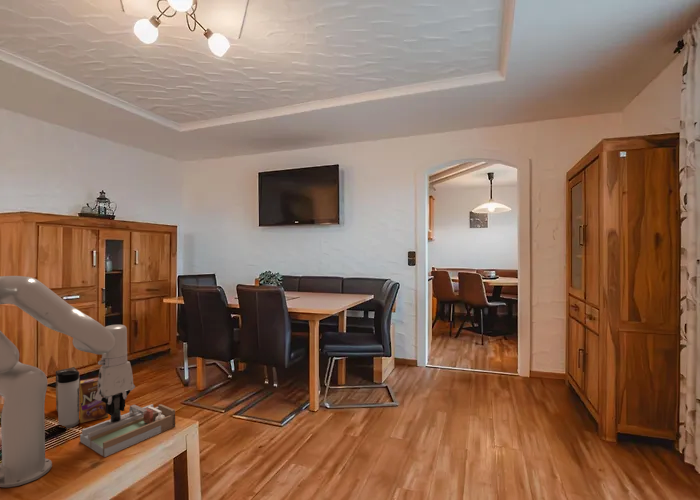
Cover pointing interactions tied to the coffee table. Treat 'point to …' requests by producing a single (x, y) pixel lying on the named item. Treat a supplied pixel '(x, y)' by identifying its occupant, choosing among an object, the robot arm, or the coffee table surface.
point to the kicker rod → (132, 411)
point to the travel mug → (68, 398)
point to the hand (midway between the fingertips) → (115, 411)
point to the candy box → (90, 401)
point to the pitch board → (126, 431)
